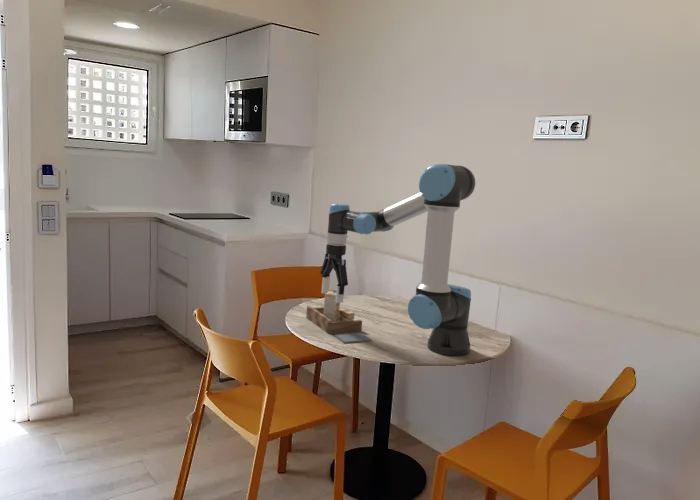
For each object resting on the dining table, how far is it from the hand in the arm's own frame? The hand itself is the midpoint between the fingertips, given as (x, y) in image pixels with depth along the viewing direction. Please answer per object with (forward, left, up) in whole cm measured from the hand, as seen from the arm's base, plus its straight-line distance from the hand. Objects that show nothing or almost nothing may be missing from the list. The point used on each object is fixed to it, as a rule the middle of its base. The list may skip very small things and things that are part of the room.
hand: (331, 297), depth 221 cm
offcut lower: (-1, -6, -11) cm, 13 cm away
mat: (-19, -1, -11) cm, 22 cm away
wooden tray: (0, -1, -11) cm, 11 cm away
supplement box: (0, 0, -11) cm, 11 cm away
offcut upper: (-1, -6, -8) cm, 10 cm away
